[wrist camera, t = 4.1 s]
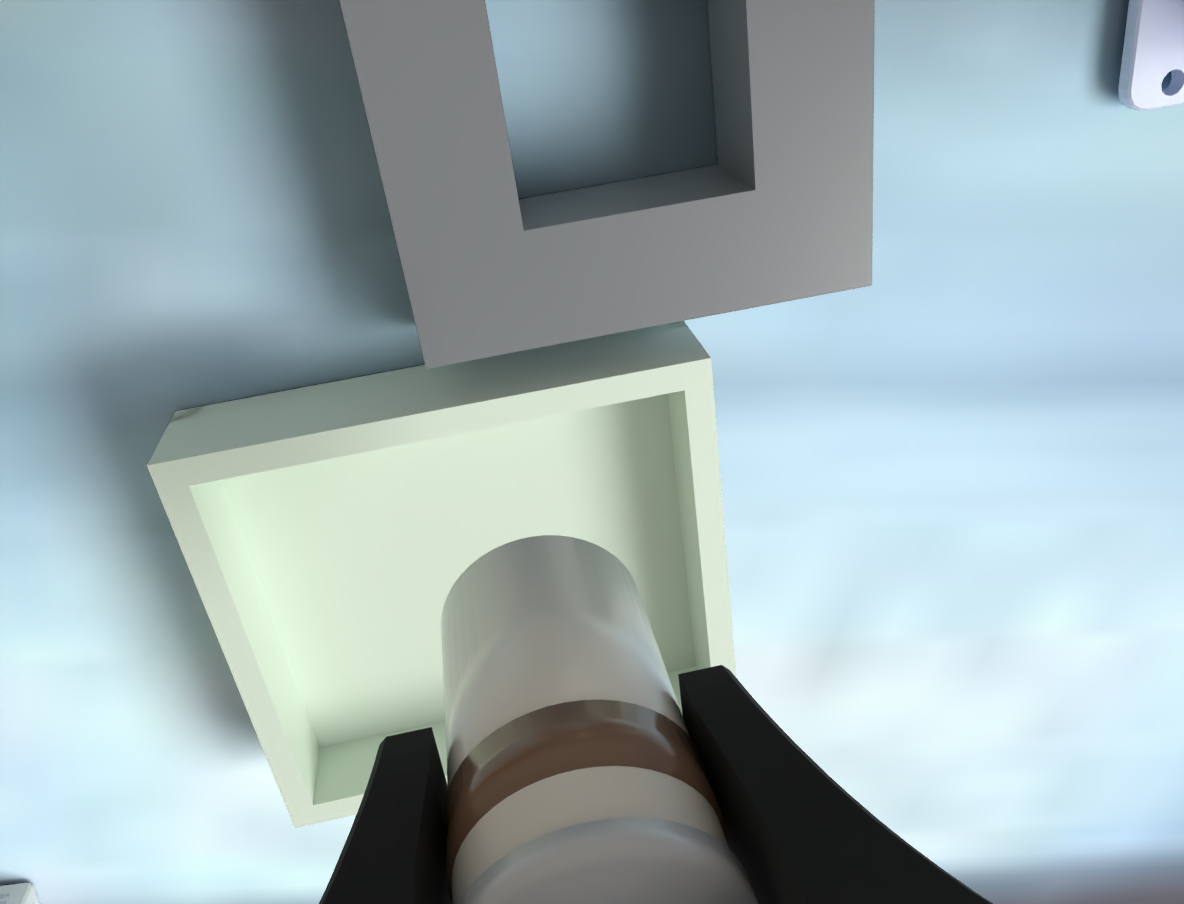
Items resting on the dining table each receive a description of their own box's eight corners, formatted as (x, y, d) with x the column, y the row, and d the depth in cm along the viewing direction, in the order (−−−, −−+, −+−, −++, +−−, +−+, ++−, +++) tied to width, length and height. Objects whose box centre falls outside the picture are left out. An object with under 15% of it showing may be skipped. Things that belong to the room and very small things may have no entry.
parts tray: (680, 317, 21) (710, 357, 19) (712, 664, 26) (740, 727, 24) (175, 411, 21) (146, 466, 18) (305, 753, 25) (295, 827, 23)
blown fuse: (640, 514, 15) (768, 829, 9) (652, 682, 16) (766, 1032, 11) (417, 549, 14) (421, 897, 9) (452, 718, 16) (471, 1098, 11)
